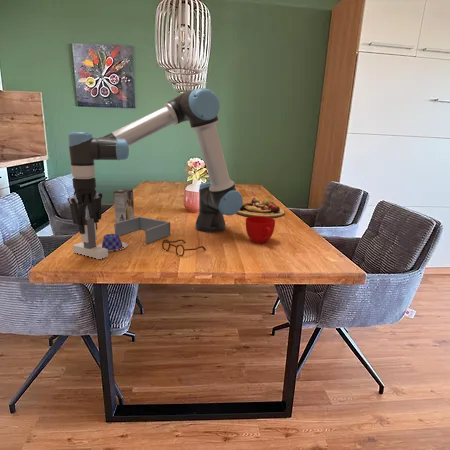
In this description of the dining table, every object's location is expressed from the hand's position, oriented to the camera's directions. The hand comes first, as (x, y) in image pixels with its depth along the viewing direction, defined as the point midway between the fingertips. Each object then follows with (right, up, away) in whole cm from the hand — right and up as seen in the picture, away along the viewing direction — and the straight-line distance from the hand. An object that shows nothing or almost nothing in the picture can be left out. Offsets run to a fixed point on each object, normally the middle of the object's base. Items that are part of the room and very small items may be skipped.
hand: (89, 240), depth 119 cm
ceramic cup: (+66, -2, +23) cm, 70 cm away
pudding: (+5, -4, +11) cm, 12 cm away
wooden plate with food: (+71, +13, +80) cm, 108 cm away
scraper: (0, -5, +2) cm, 6 cm away
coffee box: (-3, +8, +51) cm, 52 cm away
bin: (+13, +1, +26) cm, 30 cm away
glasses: (+34, -5, +11) cm, 36 cm away
